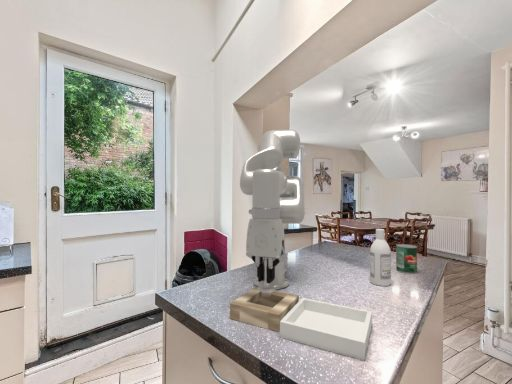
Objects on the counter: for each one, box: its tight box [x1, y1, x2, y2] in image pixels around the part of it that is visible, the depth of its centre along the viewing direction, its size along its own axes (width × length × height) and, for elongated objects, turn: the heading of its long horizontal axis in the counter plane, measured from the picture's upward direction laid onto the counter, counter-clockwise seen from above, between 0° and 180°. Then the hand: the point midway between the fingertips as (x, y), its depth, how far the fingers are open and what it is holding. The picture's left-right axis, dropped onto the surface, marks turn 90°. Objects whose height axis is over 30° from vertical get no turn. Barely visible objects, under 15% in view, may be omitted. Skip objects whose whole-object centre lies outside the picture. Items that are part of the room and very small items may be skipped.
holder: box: [229, 286, 300, 333], centre depth 71 cm, size 14×14×4 cm
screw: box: [257, 257, 276, 297], centre depth 72 cm, size 13×5×5 cm
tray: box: [279, 297, 373, 362], centre depth 62 cm, size 16×18×4 cm
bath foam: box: [369, 228, 392, 287], centre depth 97 cm, size 7×7×20 cm
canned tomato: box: [395, 243, 418, 275], centre depth 113 cm, size 8×8×11 cm
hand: (266, 280), depth 72 cm, fingers closed on screw, 2 cm apart
